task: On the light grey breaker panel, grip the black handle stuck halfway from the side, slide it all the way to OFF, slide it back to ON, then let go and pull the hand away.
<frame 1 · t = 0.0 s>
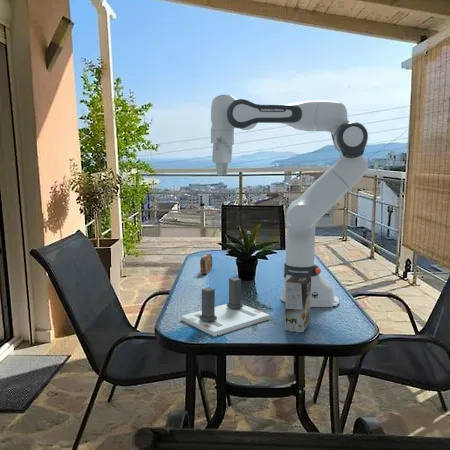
hand: (222, 175, 166), 48 cm above the table, tool pointing down, fingers open, 8 cm apart
aerosol can: (248, 271, 211), on the table
coffee box: (297, 327, 139), on the table
tin: (206, 272, 209), on the table
breaker panel: (225, 319, 145), on the table
tripped breaker: (208, 304, 139), point 7 cm above the table, slide at 4.0 cm
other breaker: (234, 293, 152), point 7 cm above the table, slide at 0.0 cm
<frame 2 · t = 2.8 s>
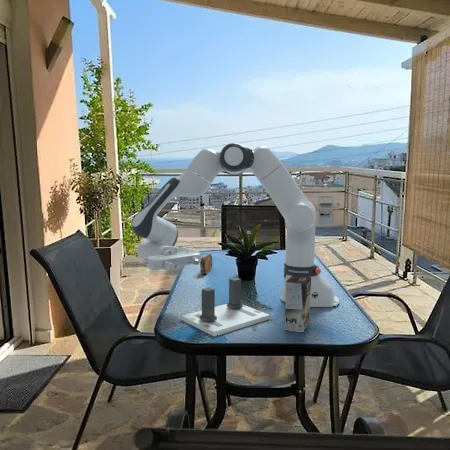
hand: (186, 264, 147), 18 cm above the table, tool horizontal, fingers open, 8 cm apart
nothing on the table moved.
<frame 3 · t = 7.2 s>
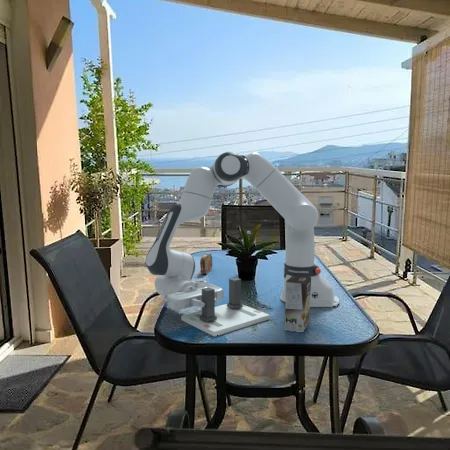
hand: (209, 303, 139), 8 cm above the table, tool horizontal, fingers closed on tripped breaker, 3 cm apart
tripped breaker: (208, 304, 139), point 7 cm above the table, slide at 4.0 cm, touching gripper
everything else where it was.
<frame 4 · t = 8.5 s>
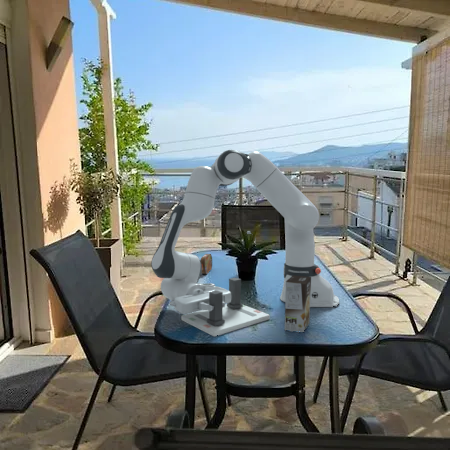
hand: (218, 306, 135), 7 cm above the table, tool horizontal, fingers closed on tripped breaker, 3 cm apart
tripped breaker: (215, 307, 136), point 7 cm above the table, slide at 8.1 cm, touching gripper
everything else where it was.
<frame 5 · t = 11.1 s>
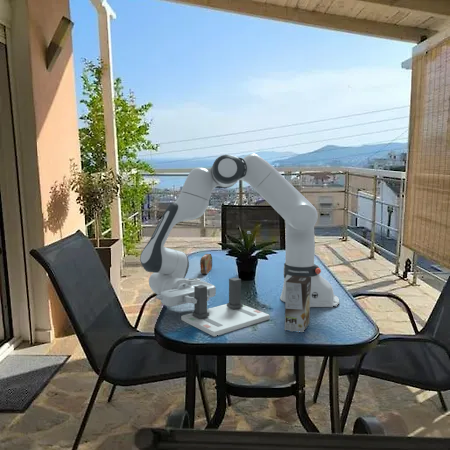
hand: (202, 300, 142), 8 cm above the table, tool horizontal, fingers closed on tripped breaker, 3 cm apart
tripped breaker: (200, 301, 142), point 7 cm above the table, slide at -0.1 cm, touching gripper
everything else where it was.
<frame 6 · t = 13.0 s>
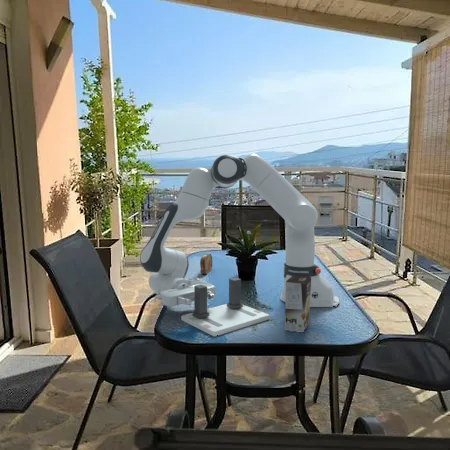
hand: (201, 299, 142), 8 cm above the table, tool horizontal, fingers open, 8 cm apart
tripped breaker: (200, 301, 142), point 7 cm above the table, slide at -0.1 cm
everything else where it was.
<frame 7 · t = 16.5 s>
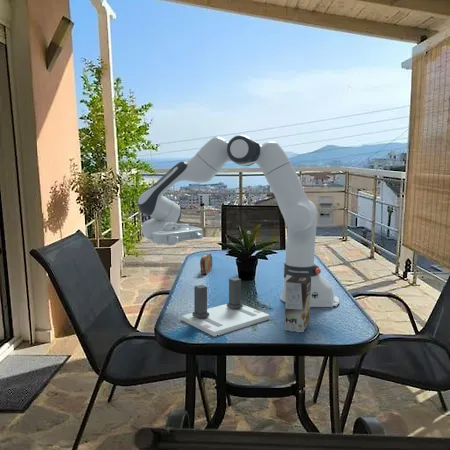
hand: (189, 238, 155), 26 cm above the table, tool horizontal, fingers open, 8 cm apart
nothing on the table moved.
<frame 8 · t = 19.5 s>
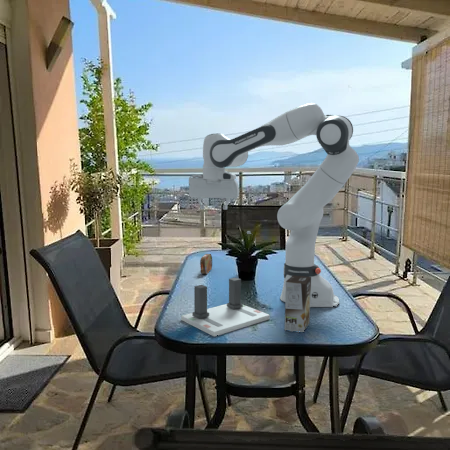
hand: (213, 209, 173), 34 cm above the table, tool pointing down, fingers open, 8 cm apart
nothing on the table moved.
at the end: tripped breaker slide at -0.1 cm; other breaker slide at 0.0 cm; the gripper is holding nothing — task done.
